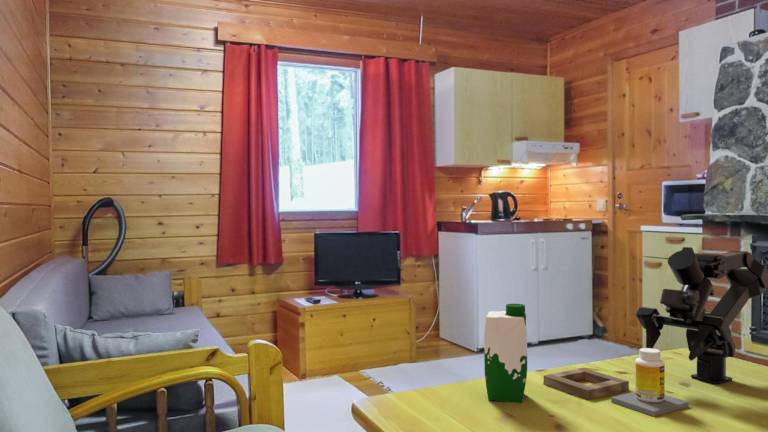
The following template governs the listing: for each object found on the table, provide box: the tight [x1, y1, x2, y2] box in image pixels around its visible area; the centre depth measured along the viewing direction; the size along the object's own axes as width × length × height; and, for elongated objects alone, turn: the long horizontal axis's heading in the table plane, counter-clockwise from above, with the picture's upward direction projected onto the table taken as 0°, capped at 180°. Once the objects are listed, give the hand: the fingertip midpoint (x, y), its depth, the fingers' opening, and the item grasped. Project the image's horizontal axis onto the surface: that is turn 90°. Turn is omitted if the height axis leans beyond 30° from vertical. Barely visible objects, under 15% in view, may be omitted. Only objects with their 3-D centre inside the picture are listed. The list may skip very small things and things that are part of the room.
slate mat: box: [610, 391, 689, 417], centre depth 122 cm, size 11×10×1 cm
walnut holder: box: [543, 367, 630, 401], centre depth 134 cm, size 13×13×2 cm
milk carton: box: [483, 303, 528, 404], centre depth 127 cm, size 9×9×20 cm
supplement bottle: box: [634, 347, 666, 403], centre depth 122 cm, size 6×6×10 cm
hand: (668, 355), depth 126 cm, fingers open, 9 cm apart
